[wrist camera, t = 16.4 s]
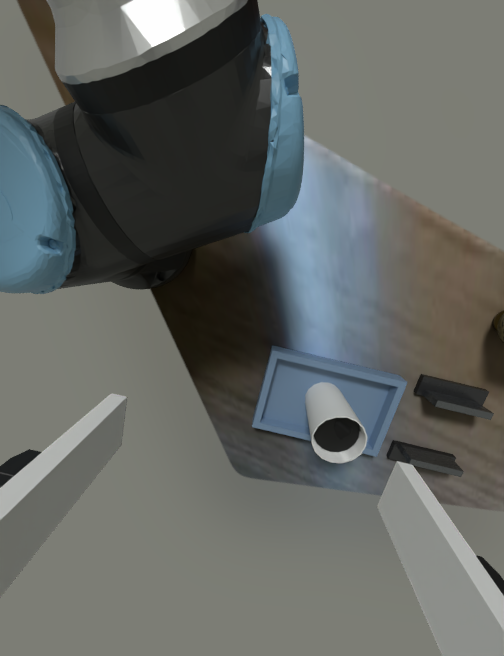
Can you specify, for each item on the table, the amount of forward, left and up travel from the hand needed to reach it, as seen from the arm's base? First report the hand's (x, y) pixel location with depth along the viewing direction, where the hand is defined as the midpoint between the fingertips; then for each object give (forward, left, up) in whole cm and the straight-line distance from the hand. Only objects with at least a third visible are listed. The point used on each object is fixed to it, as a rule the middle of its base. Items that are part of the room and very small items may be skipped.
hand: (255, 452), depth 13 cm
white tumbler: (+10, +12, -28) cm, 32 cm away
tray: (+10, +12, -29) cm, 33 cm away
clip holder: (+10, +30, -29) cm, 43 cm away
